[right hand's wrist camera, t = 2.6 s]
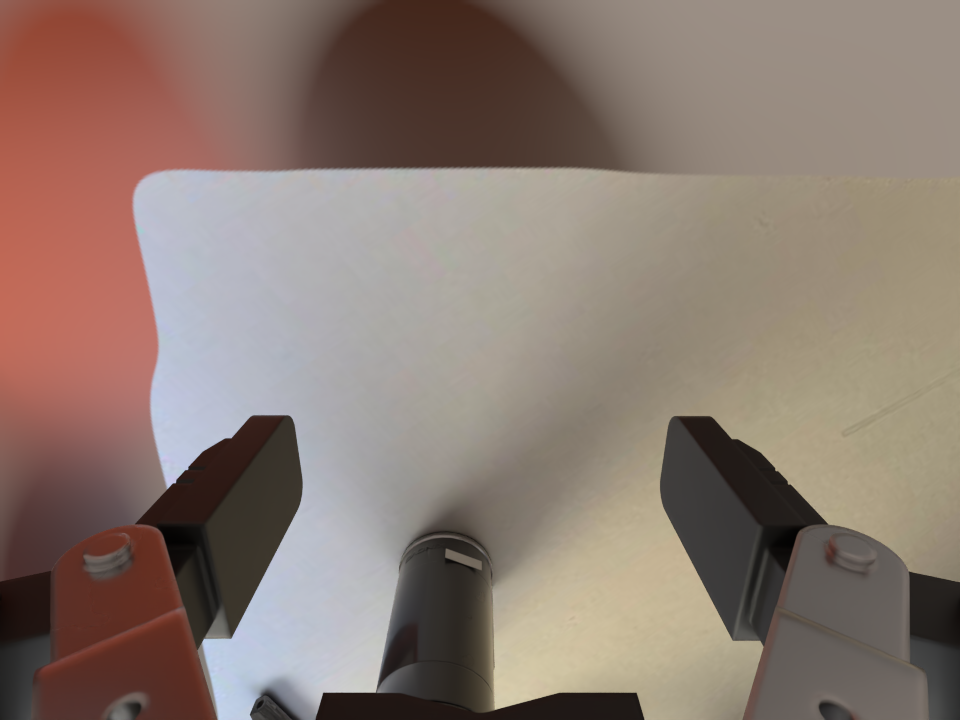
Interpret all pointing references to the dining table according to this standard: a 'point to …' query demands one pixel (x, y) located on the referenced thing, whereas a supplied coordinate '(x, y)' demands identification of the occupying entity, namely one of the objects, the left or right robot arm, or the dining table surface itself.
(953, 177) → the dining table surface
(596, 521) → the dining table surface
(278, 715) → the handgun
